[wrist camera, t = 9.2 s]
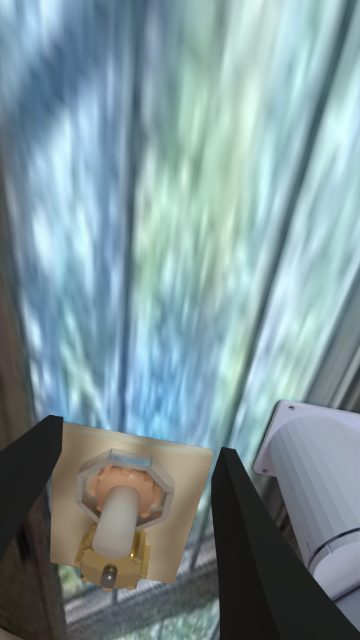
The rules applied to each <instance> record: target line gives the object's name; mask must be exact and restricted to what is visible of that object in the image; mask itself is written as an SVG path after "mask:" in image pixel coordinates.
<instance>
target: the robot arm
mask: <svg viewBox="0 0 360 640" xmlns="http://www.w3.org/2000/svg"><path fill="white" fill-rule="evenodd" d="M290 406H293V407H292V408H289V407H290ZM62 439H63V417H60V416H54V415H49V416H47V417H46V418H44V419H43V420H42V421H40V422H39V423H38V424H37V425H35V426H34V427H33V428H31V429H30V430H29V431H28V432H26V433H25V434H24V435H22V436H21V437H20V438H18V439H17V440H15V441H14V442H13V443H11V444H10V445H9V446H7V447H6V448H4V449H3V450H2V451H0V562H1V560H2V558H3V556H4V555H5V553H6V551H7V549H8V547H9V545H10V543H11V541H12V539H13V538H14V536H15V534H16V532H17V531H18V529H19V527H20V526H21V524H22V522H23V521H24V519H25V517H26V516H27V514H28V512H29V511H30V509H31V508H32V506H33V504H34V503H35V501H36V499H37V498H38V496H39V494H40V493H41V491H42V489H43V488H44V486H45V484H46V483H47V481H48V479H49V478H50V476H51V474H52V472H53V470H54V468H55V466H56V464H57V461H58V459H59V457H60V455H61V453H62ZM253 468H254V471H255V472H256V473H258V474H263V475H268V476H274V477H277V481H278V484H279V487H280V490H281V493H282V496H283V499H284V502H285V505H286V508H287V511H288V514H289V517H290V521H291V524H292V527H293V530H294V533H295V536H296V539H297V542H298V545H299V548H300V551H301V554H302V558H303V561H304V564H305V566H304V565H303V563H302V562H301V560H300V559H299V558H298V556H297V555H296V553H295V552H294V551H293V549H292V548H291V546H290V545H289V543H288V542H287V541H286V539H285V538H284V536H283V535H282V533H281V532H280V530H279V528H278V527H277V525H276V524H275V522H274V520H273V519H272V517H271V516H270V514H269V512H268V511H267V509H266V507H265V505H264V504H263V502H262V500H261V498H260V497H259V495H258V493H257V491H256V489H255V487H254V486H253V484H252V482H251V480H250V478H249V476H248V474H247V472H246V470H245V468H244V466H243V464H242V462H241V460H240V458H239V456H238V453H237V451H236V450H235V449H231V448H225V447H222V448H221V451H220V454H219V457H218V460H217V463H216V466H215V469H214V472H213V475H212V479H211V506H212V517H213V527H214V536H215V546H216V556H217V565H218V578H219V607H220V640H360V414H358V413H352V412H347V411H342V410H337V409H332V408H326V407H321V406H316V405H311V404H305V403H300V402H295V401H290V400H281V401H280V402H279V403H278V405H277V408H276V410H275V413H274V415H273V418H272V420H271V423H270V425H269V428H268V430H267V433H266V435H265V438H264V441H263V443H262V446H261V448H260V451H259V453H258V456H257V458H256V461H255V463H254V466H253Z"/></svg>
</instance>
